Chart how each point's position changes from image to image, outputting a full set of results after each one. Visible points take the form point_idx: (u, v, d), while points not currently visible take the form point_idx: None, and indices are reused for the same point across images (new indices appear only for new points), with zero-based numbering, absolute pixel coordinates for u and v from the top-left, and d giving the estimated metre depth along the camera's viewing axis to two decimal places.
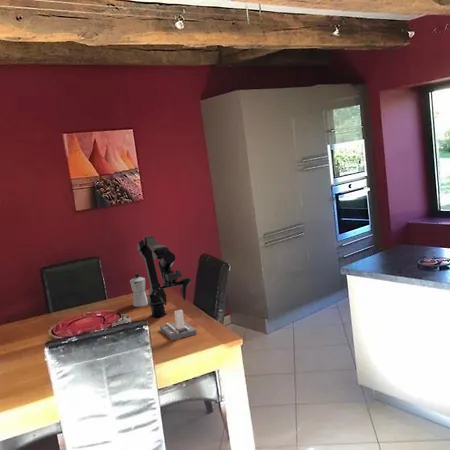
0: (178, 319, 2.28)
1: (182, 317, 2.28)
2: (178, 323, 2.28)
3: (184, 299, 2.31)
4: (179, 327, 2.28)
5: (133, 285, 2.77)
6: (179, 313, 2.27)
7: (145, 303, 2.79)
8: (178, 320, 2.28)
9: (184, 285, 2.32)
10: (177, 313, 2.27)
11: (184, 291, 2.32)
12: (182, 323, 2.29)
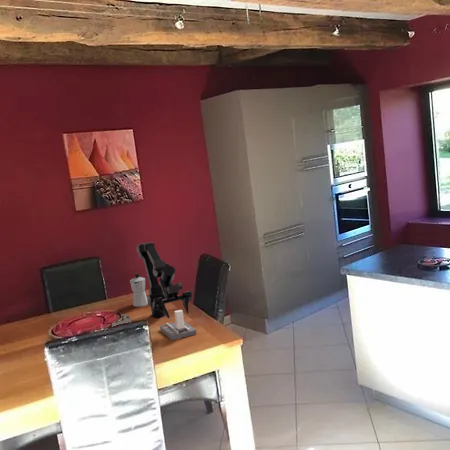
0: (178, 319, 2.28)
1: (182, 317, 2.28)
2: (178, 323, 2.28)
3: (187, 312, 2.31)
4: (179, 327, 2.28)
5: (133, 285, 2.77)
6: (179, 313, 2.27)
7: (145, 303, 2.79)
8: (178, 320, 2.28)
9: (186, 298, 2.33)
10: (177, 313, 2.27)
11: (186, 304, 2.33)
12: (182, 323, 2.29)
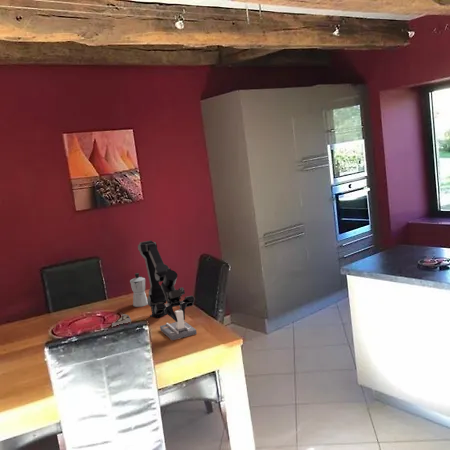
0: (178, 319, 2.28)
1: (182, 317, 2.28)
2: (178, 323, 2.28)
3: None
4: (179, 327, 2.28)
5: (133, 285, 2.77)
6: (179, 313, 2.27)
7: (145, 303, 2.79)
8: (178, 320, 2.28)
9: (182, 304, 2.31)
10: (177, 313, 2.27)
11: (183, 310, 2.30)
12: (182, 323, 2.29)
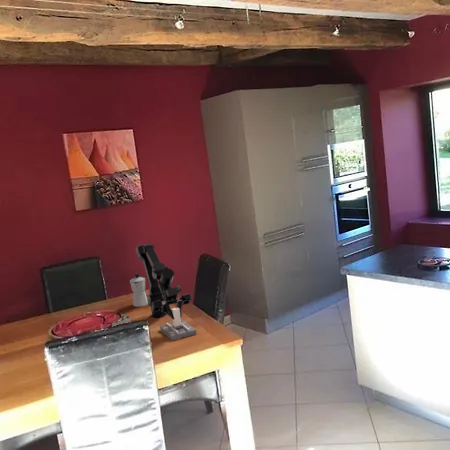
0: (175, 316, 2.31)
1: (179, 315, 2.32)
2: (175, 320, 2.32)
3: (180, 316, 2.32)
4: (176, 324, 2.32)
5: (133, 285, 2.77)
6: (176, 311, 2.31)
7: (145, 303, 2.79)
8: (175, 317, 2.31)
9: (179, 302, 2.34)
10: (174, 311, 2.31)
11: (180, 308, 2.34)
12: (178, 320, 2.32)
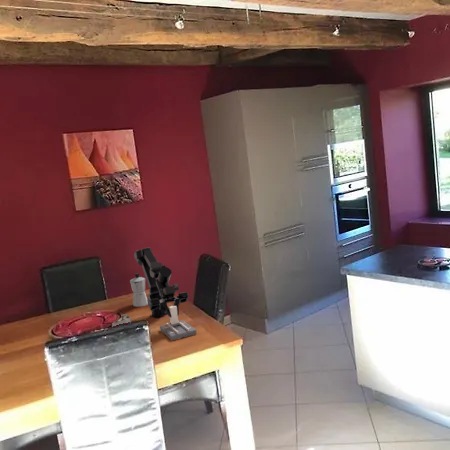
0: (172, 314, 2.35)
1: (176, 312, 2.35)
2: (172, 318, 2.35)
3: None
4: (173, 322, 2.35)
5: (133, 285, 2.77)
6: (173, 309, 2.35)
7: (145, 303, 2.79)
8: (172, 315, 2.35)
9: (176, 300, 2.38)
10: (171, 309, 2.34)
11: (177, 306, 2.37)
12: (176, 318, 2.36)
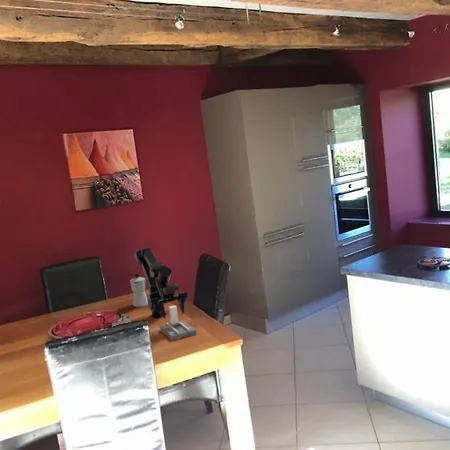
0: (172, 314, 2.35)
1: (176, 312, 2.35)
2: (172, 318, 2.35)
3: (183, 312, 2.37)
4: (173, 322, 2.35)
5: (133, 285, 2.77)
6: (173, 309, 2.35)
7: (145, 303, 2.79)
8: (172, 315, 2.35)
9: (182, 298, 2.39)
10: (171, 309, 2.34)
11: (182, 304, 2.38)
12: (176, 318, 2.36)
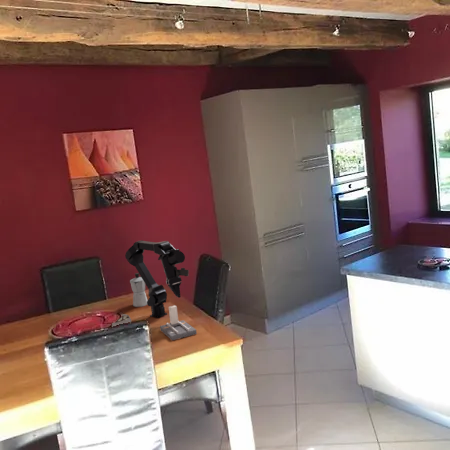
0: (172, 314, 2.35)
1: (176, 312, 2.35)
2: (172, 318, 2.35)
3: None
4: (173, 322, 2.35)
5: (133, 285, 2.77)
6: (173, 309, 2.35)
7: (145, 303, 2.79)
8: (172, 315, 2.35)
9: None
10: (171, 309, 2.34)
11: None
12: (176, 318, 2.36)
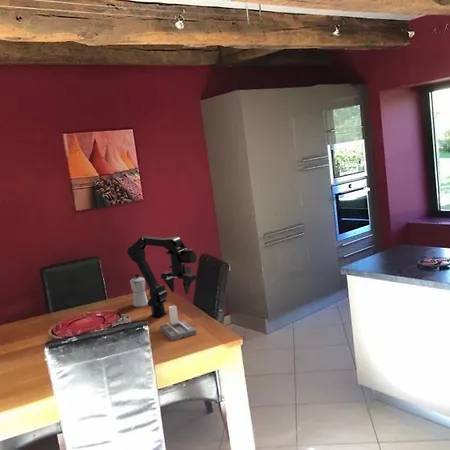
0: (172, 314, 2.35)
1: (176, 312, 2.35)
2: (172, 318, 2.35)
3: None
4: (173, 322, 2.35)
5: (133, 285, 2.77)
6: (173, 309, 2.35)
7: (145, 303, 2.79)
8: (172, 315, 2.35)
9: None
10: (171, 309, 2.34)
11: None
12: (176, 318, 2.36)
